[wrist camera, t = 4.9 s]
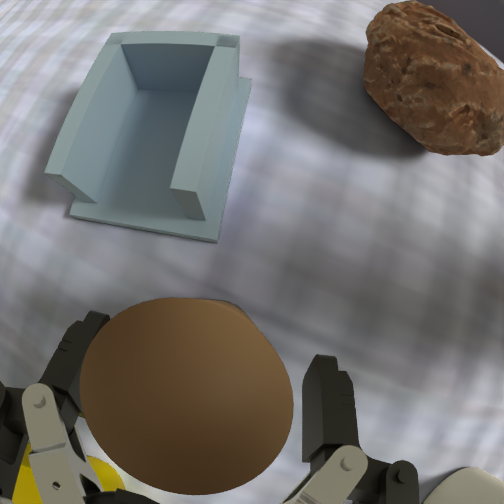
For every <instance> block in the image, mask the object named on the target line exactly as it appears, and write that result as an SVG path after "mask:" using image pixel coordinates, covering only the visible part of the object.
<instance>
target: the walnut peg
mask: <svg viewBox="0 0 504 504" xmlns="http://www.w3.org/2000/svg"><path fill="white" fill-rule="evenodd" d="M79 389H80V400H81V405H82V409H83V414H84V416H85V419H86V422H87V425H88V427H89V429H90V431H91V433H92V435H93V437H94V438H95V440H96V441H97V443H98V444H99V446H100V447H101V448H102V450H103V451H104V452H105V453H106V454H107V456H108V457H109V458H110V459H111V460H112V461H113V462H114V463H115V464H117V465H118V466H119V467H120V468H121V469H123V470H124V471H125V472H127V473H128V474H129V475H131V476H133V477H134V478H136V479H138V480H139V481H141V482H143V483H145V484H148V485H150V486H152V487H155V488H158V489H161V490H164V491H167V492H172V493H177V494H185V495H208V494H215V493H220V492H224V491H228V490H231V489H234V488H236V487H239V486H241V485H243V484H245V483H247V482H249V481H251V480H252V479H254V478H255V477H257V476H258V475H259V474H261V473H262V472H263V471H264V470H265V469H266V468H267V467H268V466H270V465H271V464H272V462H273V461H274V460H275V459H276V457H277V456H278V455H279V453H280V452H281V450H282V448H283V446H284V444H285V443H286V440H287V438H288V435H289V432H290V429H291V424H292V419H293V406H294V403H293V393H292V388H291V384H290V380H289V376H288V374H287V371H286V369H285V366H284V364H283V362H282V361H281V359H280V357H279V355H278V354H277V352H276V351H275V349H274V348H273V347H272V345H271V344H270V343H269V341H268V340H267V339H266V338H265V336H264V335H263V334H262V333H261V332H260V330H259V329H258V328H257V327H256V326H255V324H254V323H253V322H252V321H251V319H250V318H249V317H248V316H247V315H246V313H245V312H244V311H243V310H242V309H240V308H239V307H238V306H236V305H234V304H232V303H230V302H227V301H222V300H207V299H190V298H162V299H155V300H150V301H146V302H142V303H140V304H137V305H134V306H132V307H130V308H128V309H126V310H124V311H122V312H120V313H119V314H117V315H116V316H115V317H113V318H112V319H111V320H109V321H108V322H107V323H106V324H105V325H104V326H103V327H102V328H101V329H100V330H99V332H98V333H97V335H96V336H95V337H94V339H93V340H92V342H91V344H90V346H89V348H88V350H87V352H86V354H85V357H84V360H83V363H82V368H81V373H80V388H79Z"/></svg>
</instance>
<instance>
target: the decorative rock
mask: <svg viewBox="0 0 504 504" xmlns="http://www.w3.org/2000/svg"><path fill="white" fill-rule="evenodd" d="M366 36H367V40H368V48H367V50H366V53H365V60H366V62H365V65H364V76H363V79H362V80H363V86H364V87H365V89H366V91H367V92H368V94H369V95H370V96H371V97H372V99H373V100H374V101H375V102H376V103H377V104H378V105H379V106H380V107H381V108H382V110H384V112H385V113H386V114H387V116H388V117H389V118H390V119H392V120H393V121H394V122H395V123H396V124H398V125H399V126H400V127H401V128H403V129H404V130H405V131H406V132H408V133H409V134H410V135H411V136H412V137H413V138H414V139H415V140H416V141H417V142H419V143H421V144H422V146H423V147H424V148H426V149H427V150H428V151H429V152H433V153H438V154H442V155H469V154H477V155H480V156H488V155H493V154H495V153H497V152H498V151H499V150H500V149H501V147H502V146H503V145H504V70H503V69H501V68H499V67H498V65H497V63H496V61H495V60H494V59H493V58H492V57H491V56H489V55H488V54H487V53H486V52H485V51H484V50H483V49H482V48H481V47H480V46H479V45H478V43H477V42H476V41H475V40H473V39H472V38H471V37H469V36H468V35H467V34H466V33H465V31H463V30H462V29H461V28H460V27H459V26H458V25H457V24H456V23H455V21H454V20H453V19H451V18H450V17H448V16H446V15H444V14H442V13H441V12H439V11H437V10H435V9H434V8H433V7H432V6H427V5H425V4H422V3H419V2H418V1H404V2H400V3H396V4H394V3H391V4H388V5H386V6H385V7H384V8H383V10H382V11H381V12H379V13H377V14H376V16H375V17H374V19H373V20H372V21H371V22H370V23H369V25H368V27H367V30H366Z"/></svg>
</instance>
